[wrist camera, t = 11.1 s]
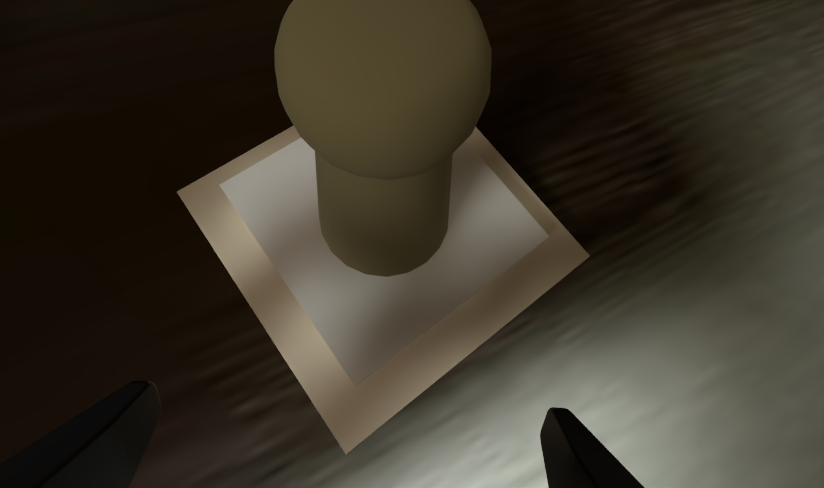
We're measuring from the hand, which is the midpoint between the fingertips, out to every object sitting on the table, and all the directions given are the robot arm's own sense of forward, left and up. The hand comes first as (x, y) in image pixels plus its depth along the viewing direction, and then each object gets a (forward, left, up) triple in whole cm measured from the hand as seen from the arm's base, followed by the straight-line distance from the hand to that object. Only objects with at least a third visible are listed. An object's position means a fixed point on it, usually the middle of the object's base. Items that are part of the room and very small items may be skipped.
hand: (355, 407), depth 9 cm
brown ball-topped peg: (+3, -7, -8) cm, 11 cm away
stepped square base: (+3, -7, -11) cm, 14 cm away
